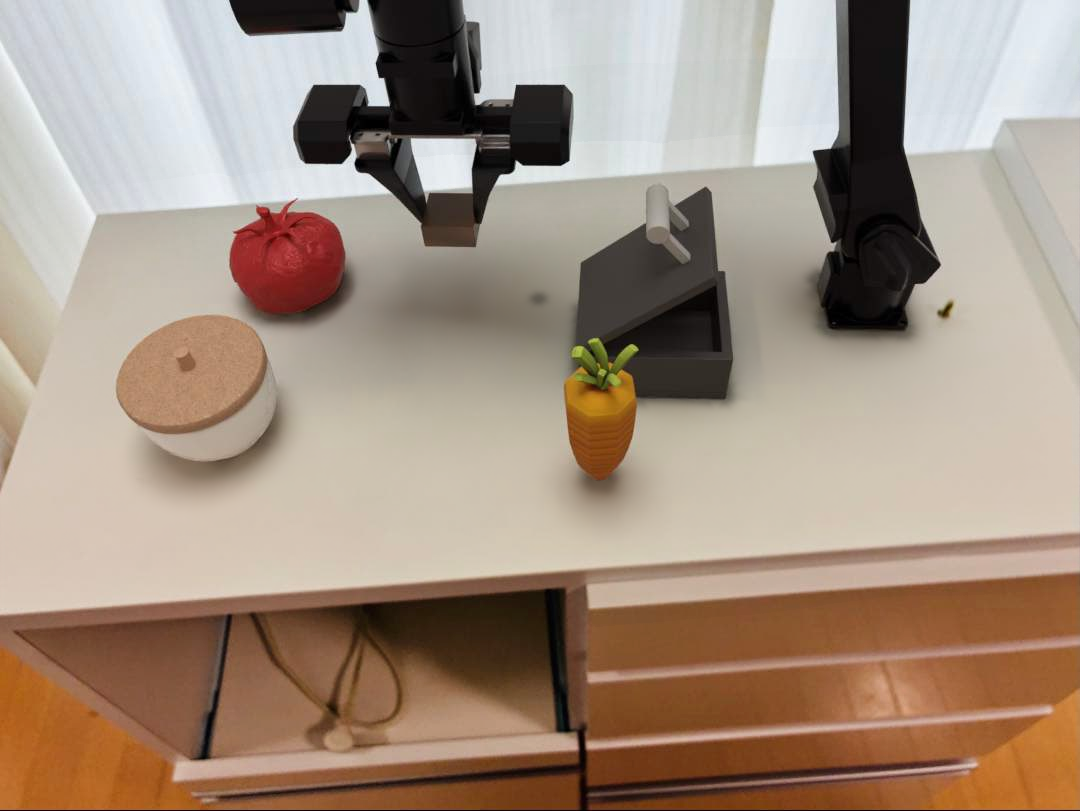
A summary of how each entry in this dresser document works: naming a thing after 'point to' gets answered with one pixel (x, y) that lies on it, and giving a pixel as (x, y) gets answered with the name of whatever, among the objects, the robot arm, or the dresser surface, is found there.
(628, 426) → the carrot
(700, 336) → the box
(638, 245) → the box lid
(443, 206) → the walnut block
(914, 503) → the dresser surface
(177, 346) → the trinket box
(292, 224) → the red tomato
